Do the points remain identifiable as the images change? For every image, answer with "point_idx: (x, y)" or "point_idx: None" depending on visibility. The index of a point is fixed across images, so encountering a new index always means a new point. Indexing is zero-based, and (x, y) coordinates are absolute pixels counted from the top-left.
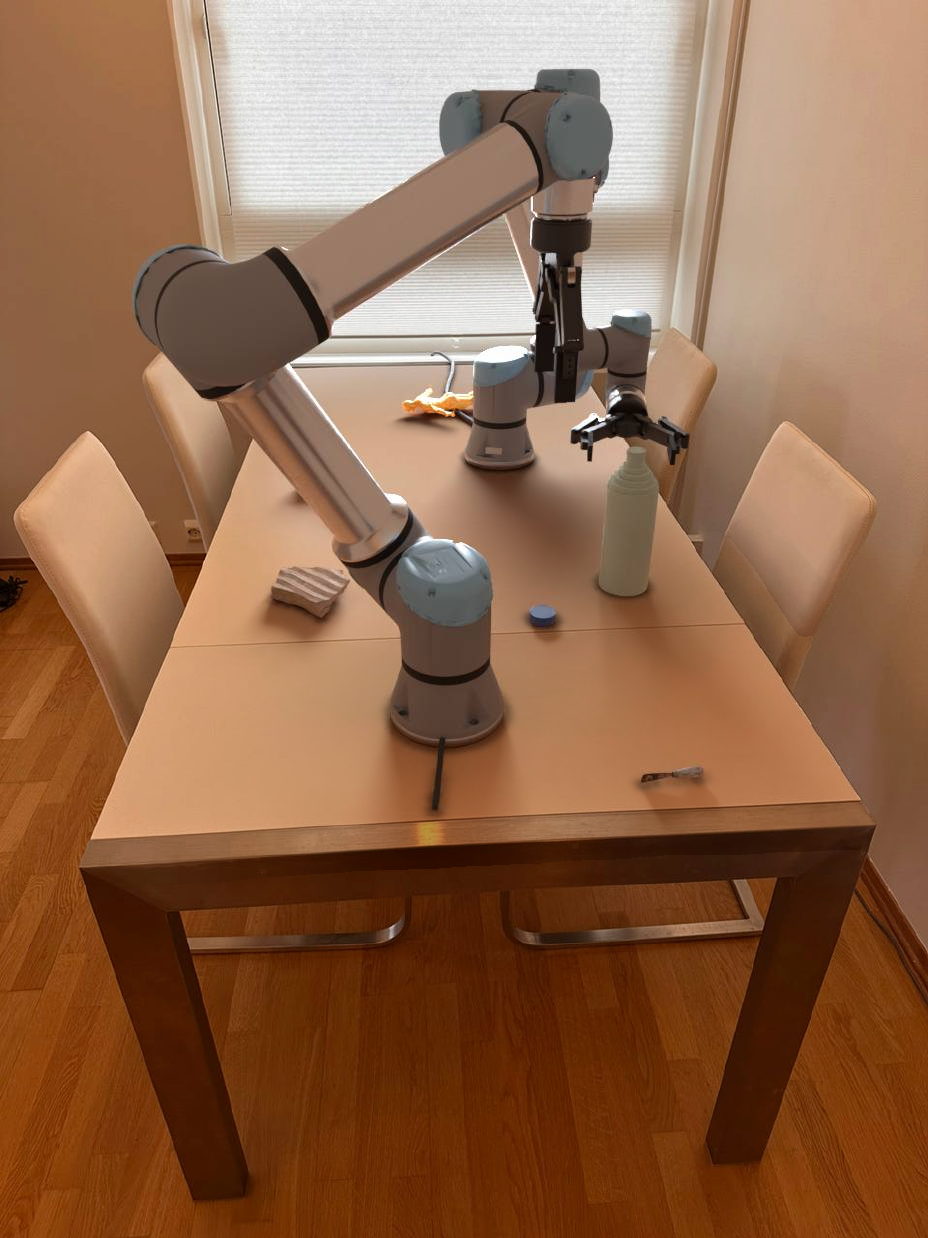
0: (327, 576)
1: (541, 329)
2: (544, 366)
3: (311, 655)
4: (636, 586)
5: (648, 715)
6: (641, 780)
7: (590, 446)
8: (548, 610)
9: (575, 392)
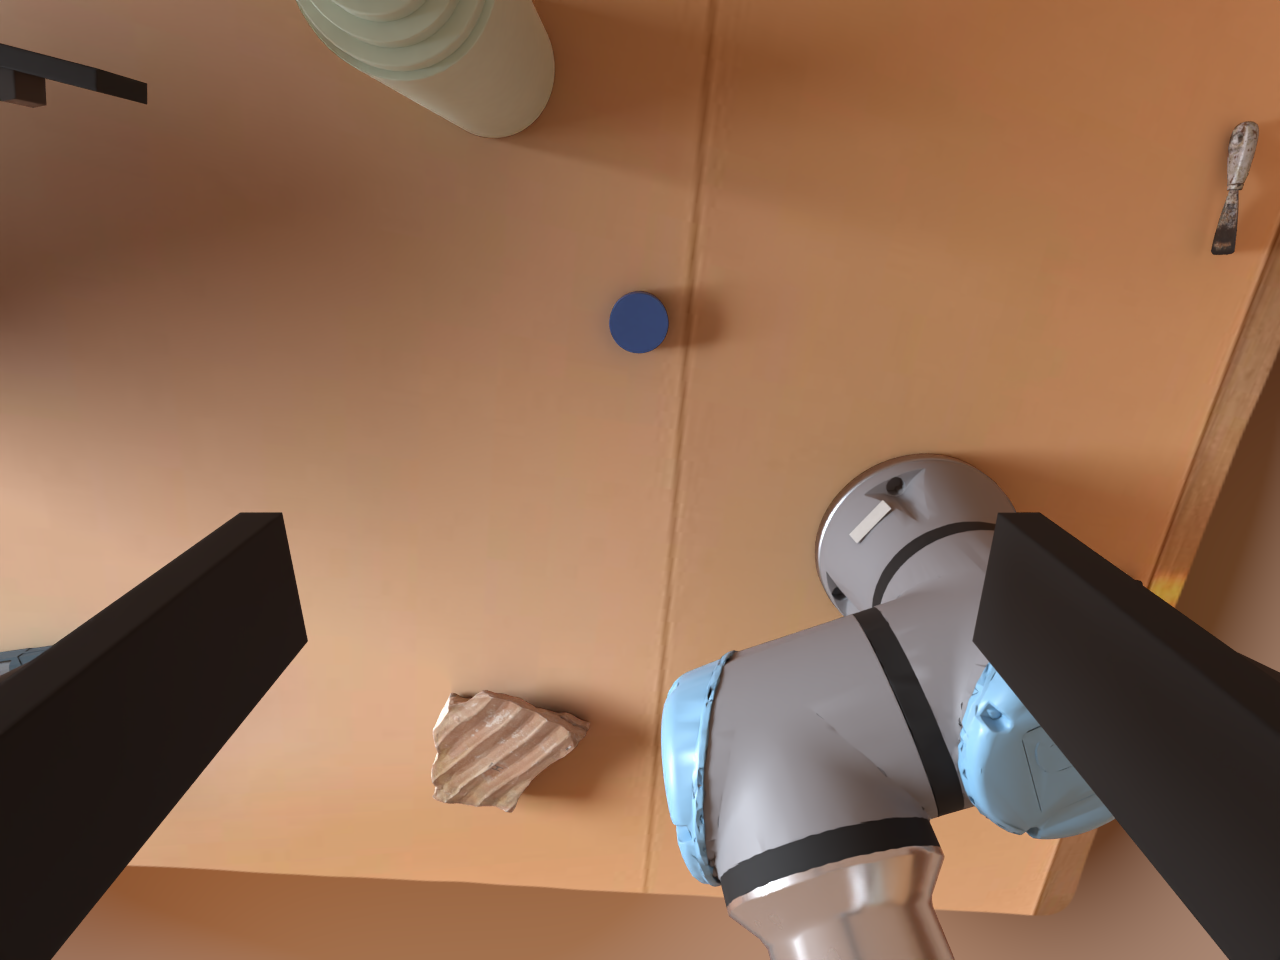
0: (474, 730)
1: (44, 894)
2: (274, 598)
3: None
4: (548, 39)
5: (1029, 173)
6: (1217, 253)
7: (97, 81)
8: (635, 309)
9: (1079, 544)
